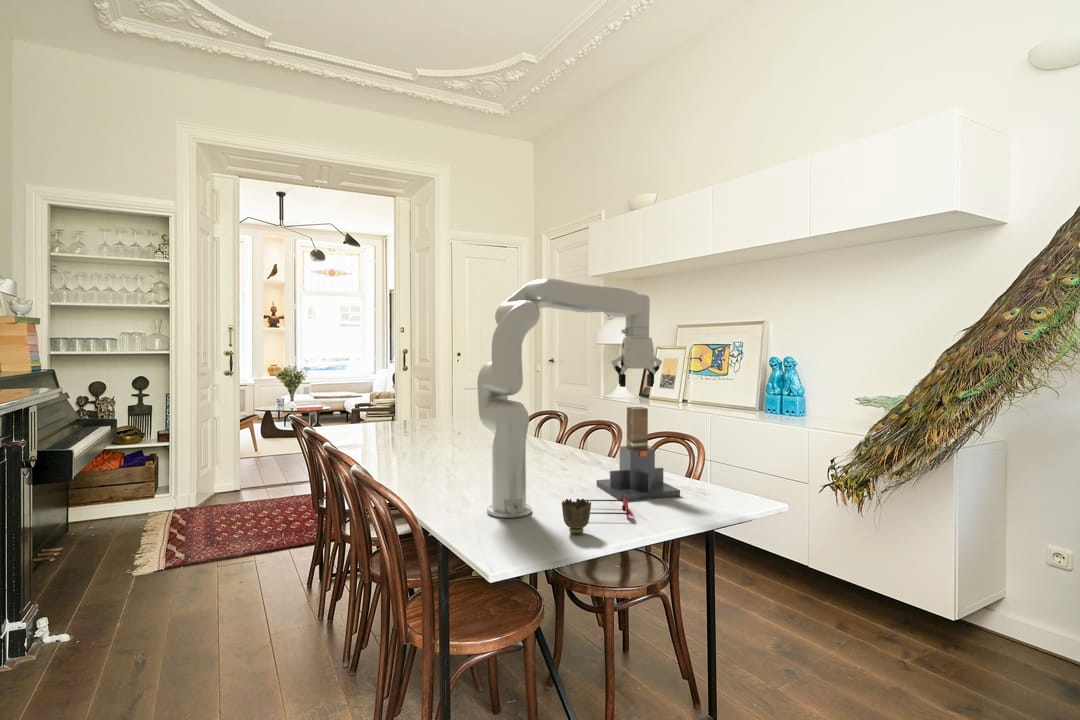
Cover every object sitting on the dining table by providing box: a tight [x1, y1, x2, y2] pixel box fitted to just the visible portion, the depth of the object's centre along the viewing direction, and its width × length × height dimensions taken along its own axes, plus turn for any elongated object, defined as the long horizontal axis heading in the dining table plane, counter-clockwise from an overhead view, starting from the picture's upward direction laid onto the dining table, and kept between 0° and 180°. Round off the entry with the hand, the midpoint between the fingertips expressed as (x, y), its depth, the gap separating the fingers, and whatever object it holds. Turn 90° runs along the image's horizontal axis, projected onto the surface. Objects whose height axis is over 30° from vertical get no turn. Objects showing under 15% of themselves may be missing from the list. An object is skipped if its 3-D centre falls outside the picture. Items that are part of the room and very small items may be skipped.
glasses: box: [584, 494, 633, 520], centre depth 168 cm, size 14×16×5 cm
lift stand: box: [596, 445, 681, 502], centre depth 194 cm, size 20×20×14 cm
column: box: [626, 406, 649, 450], centre depth 193 cm, size 5×5×19 cm
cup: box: [561, 498, 592, 536], centre depth 151 cm, size 8×7×8 cm
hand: (636, 386), depth 193 cm, fingers open, 9 cm apart
